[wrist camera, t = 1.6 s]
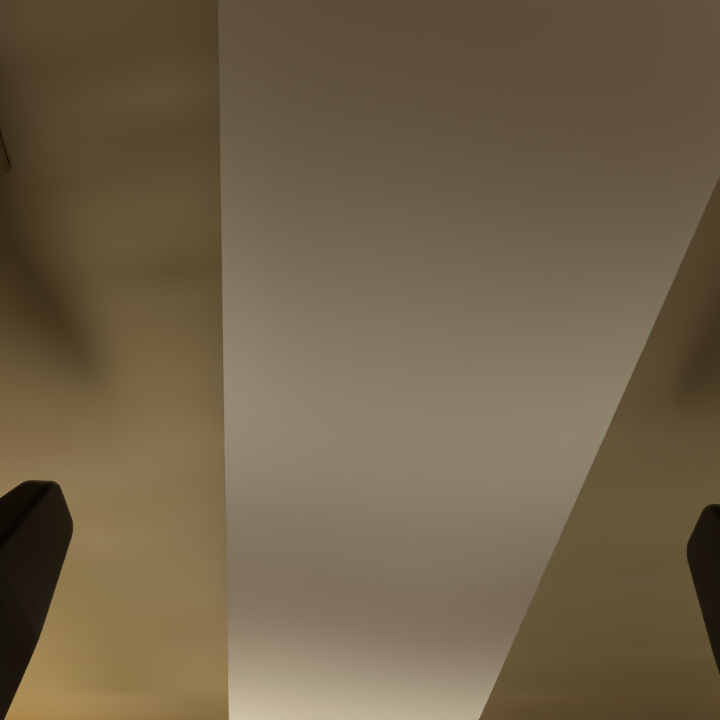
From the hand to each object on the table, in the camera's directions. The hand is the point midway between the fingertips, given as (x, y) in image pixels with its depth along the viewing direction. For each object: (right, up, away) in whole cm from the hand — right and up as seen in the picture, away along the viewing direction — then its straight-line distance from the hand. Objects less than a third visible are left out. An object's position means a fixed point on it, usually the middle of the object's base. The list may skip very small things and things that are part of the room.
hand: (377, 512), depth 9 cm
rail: (0, +1, +2) cm, 2 cm away
